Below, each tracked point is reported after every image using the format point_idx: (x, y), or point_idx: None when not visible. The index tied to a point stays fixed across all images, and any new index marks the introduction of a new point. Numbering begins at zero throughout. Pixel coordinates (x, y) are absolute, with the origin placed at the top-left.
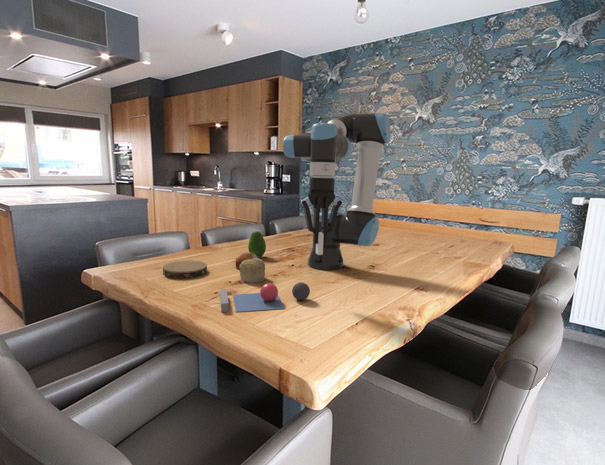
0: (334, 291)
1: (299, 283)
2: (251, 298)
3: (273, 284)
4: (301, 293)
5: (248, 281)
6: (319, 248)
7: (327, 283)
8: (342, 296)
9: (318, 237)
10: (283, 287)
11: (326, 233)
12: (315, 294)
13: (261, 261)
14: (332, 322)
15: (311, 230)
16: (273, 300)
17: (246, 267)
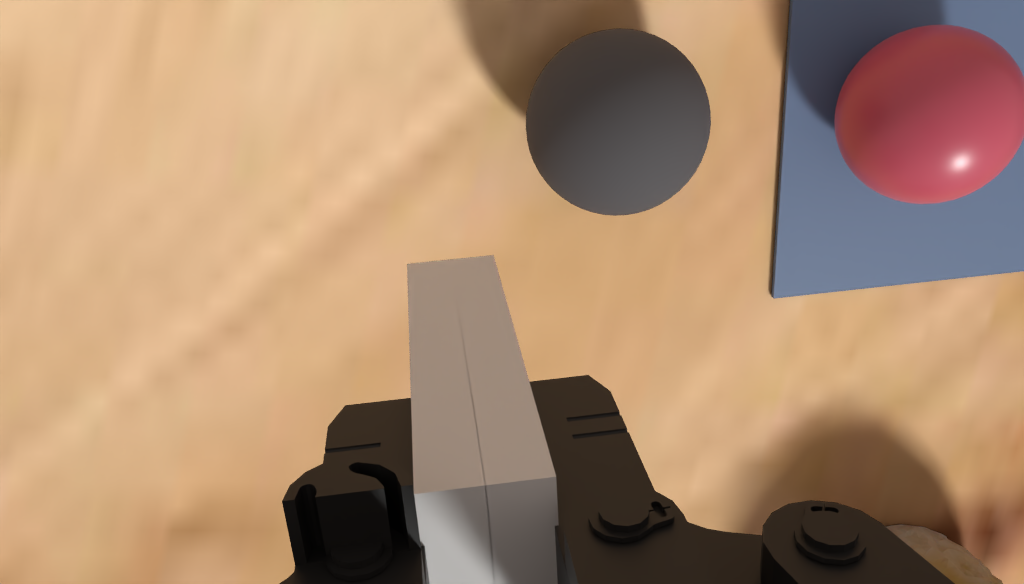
0: (224, 299)
1: (662, 133)
2: (1013, 158)
3: (924, 151)
4: (636, 33)
5: (933, 533)
6: (484, 302)
7: (257, 503)
8: (163, 160)
9: (541, 445)
10: (679, 415)
11: (334, 468)
12: (429, 231)
13: None
14: None
15: (830, 512)
16: None
17: None
